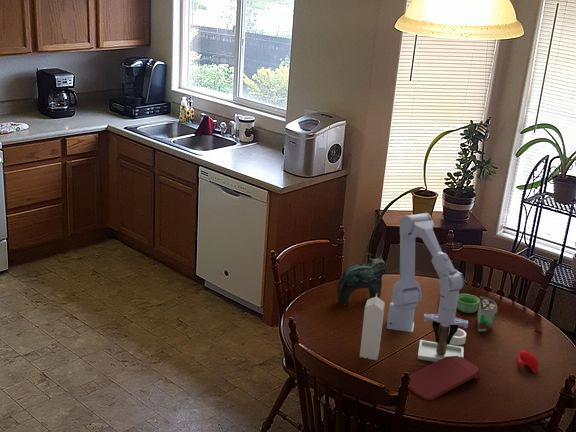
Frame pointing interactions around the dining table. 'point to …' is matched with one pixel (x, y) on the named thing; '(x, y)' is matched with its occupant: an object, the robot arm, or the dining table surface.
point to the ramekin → (467, 303)
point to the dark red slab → (442, 377)
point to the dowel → (442, 339)
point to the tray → (429, 351)
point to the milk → (372, 328)
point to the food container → (485, 314)
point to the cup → (458, 337)
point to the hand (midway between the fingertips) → (442, 342)
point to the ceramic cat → (361, 279)
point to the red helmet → (527, 360)
